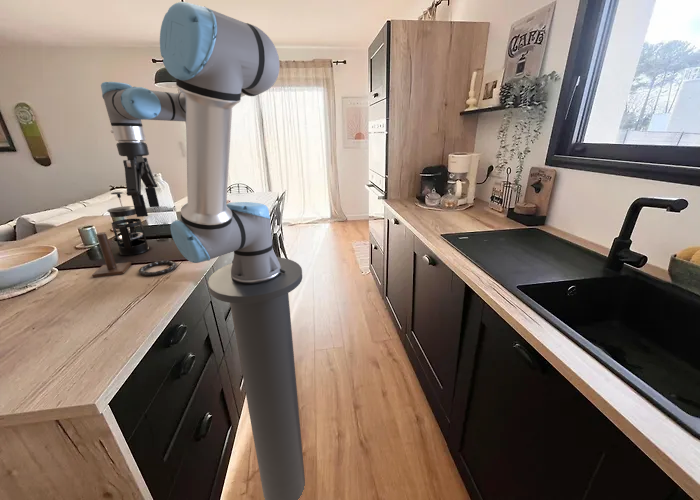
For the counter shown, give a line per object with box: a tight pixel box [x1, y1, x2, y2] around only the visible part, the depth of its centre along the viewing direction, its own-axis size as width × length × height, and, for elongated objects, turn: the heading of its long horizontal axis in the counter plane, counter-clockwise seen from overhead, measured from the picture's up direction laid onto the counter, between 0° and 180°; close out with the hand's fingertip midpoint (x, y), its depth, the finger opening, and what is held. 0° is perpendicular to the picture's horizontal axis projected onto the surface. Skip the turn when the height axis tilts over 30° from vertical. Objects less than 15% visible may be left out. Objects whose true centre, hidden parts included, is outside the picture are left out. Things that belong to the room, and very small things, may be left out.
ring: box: [138, 260, 177, 277], centre depth 96 cm, size 10×10×1 cm
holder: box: [91, 231, 132, 278], centre depth 93 cm, size 8×8×13 cm
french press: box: [106, 191, 150, 257], centre depth 107 cm, size 12×9×23 cm
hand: (149, 211), depth 94 cm, fingers open, 13 cm apart
